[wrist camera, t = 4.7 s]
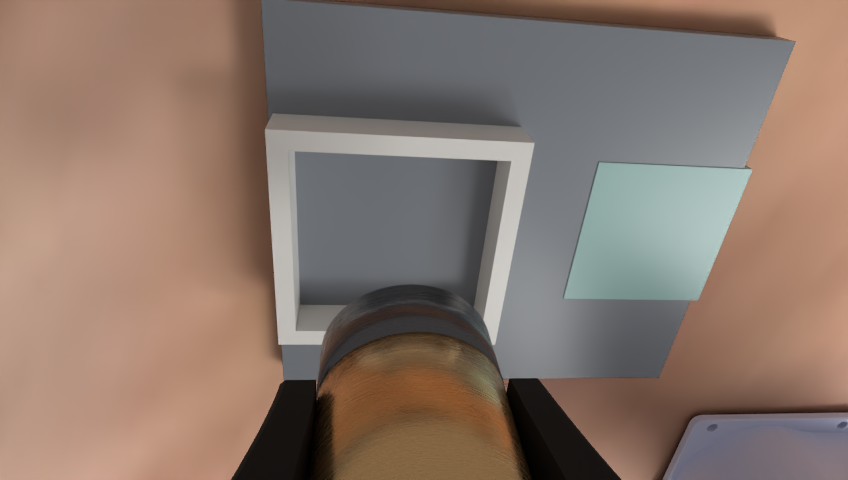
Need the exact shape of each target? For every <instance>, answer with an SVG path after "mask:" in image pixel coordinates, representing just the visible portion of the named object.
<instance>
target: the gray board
mask: <svg viewBox="0 0 848 480" xmlns="http://www.w3.org/2000/svg"><path fill="white" fill-rule="evenodd" d="M261 9H262V26H263V43H264V59H265V76H266V93H267V109H268V124H267V126H266V128H265V140H266V156H267V171H268V187H269V203H270V219H271V234H272V250H273V266H274V282H275V297H276V313H277V329H278V345H282V360H283V377H284V380H318V373H319V364H320V355H321V346H322V341H323V338H324V335H325V333H326V330H327V328H328V326H329V325H330V323H331V322H332V320H333V319H334V318H335V317H336V315H337V314H338V313H339V312H340V311H341V310H342V309H343V308H345V307H346V306H347V305H348V304H350V303H351V302H353V301H354V300H356V299H357V298H359V297H361V296H363V295H365V294H367V293H370V292H372V291H375V290H378V289H381V288H385V287H389V286H396V285H409V284H415V285H427V286H432V287H437V288H440V289H443V290H446V291H449V292H451V293H453V294H455V295H457V296H459V297H461V298H462V299H464V300H465V301H467V302H468V303H469V304H470V305H471V306H473V307H474V308H475V310H476V311H477V312H478V313H479V314H480V316H481V317H482V319H483V320H484V322H485V325H486V327H487V329H488V332H489V336H490V339H491V342H492V346H493V349H494V352H495V355H496V359H497V362H498V365H499V368H500V372H501V375H502V378H503V379H510V378H659V376H660V373H661V371H662V368H663V366H664V364H665V361H666V359H667V356H668V354H669V351H670V349H671V346H672V344H673V341H674V339H675V337H676V334H677V332H678V329H679V327H680V324H681V322H682V319H683V317H684V315H685V312H686V310H687V307H688V305H689V302H690V300H698V299H699V297H700V295H701V292H702V290H703V287H704V285H705V283H706V280H707V278H708V275H709V273H710V271H711V268H712V266H713V263H714V261H715V259H716V256H717V254H718V251H719V249H720V247H721V244H722V242H723V239H724V237H725V235H726V232H727V230H728V227H729V225H730V223H731V220H732V218H733V215H734V213H735V211H736V208H737V206H738V203H739V201H740V199H741V196H742V194H743V191H744V189H745V187H746V184H747V182H748V179H749V177H750V175H751V172H752V170H753V169H751V168H749V167H748V166H746V163H747V160H748V158H749V155H750V153H751V150H752V148H753V145H754V143H755V140H756V138H757V136H758V133H759V131H760V128H761V126H762V123H763V121H764V118H765V116H766V113H767V111H768V109H769V106H770V104H771V101H772V99H773V96H774V94H775V91H776V89H777V87H778V84H779V82H780V79H781V77H782V74H783V72H784V69H785V67H786V64H787V62H788V60H789V57H790V55H791V52H792V50H793V47H794V45H795V42H796V41H792V40H788V39H784V38H780V37H770V36H758V35H746V34H734V33H721V32H709V31H697V30H685V29H672V28H660V27H648V26H635V25H623V24H611V23H599V22H586V21H574V20H562V19H550V18H537V17H525V16H513V15H501V14H488V13H476V12H464V11H451V10H439V9H427V8H415V7H402V6H390V5H378V4H366V3H353V2H341V1H329V0H261Z"/></svg>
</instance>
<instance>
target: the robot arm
mask: <svg viewBox="0 0 848 480" xmlns="http://www.w3.org/2000/svg"><path fill="white" fill-rule="evenodd" d="M506 395H507V398H508V401H509V404H510V408H511V411H512V414H513V417H514V421H515V424H516V427H517V431H518V434H519V437H520V440H521V444H522V447H523V450H524V454H525V457H526V460H527V463H528V467H529V470H530V473H531V477H532V480H621V479H620V477H619V476H618V475H617V474H616V473H615V472H614V471H613V470H612V469H611V467H610V466H609V465H608V464H607V463H606V462H605V460H604V459H603V458H602V457H601V456H600V455H599V453H598V452H597V451H596V450H595V449H594V448H593V447H592V445H591V444H590V443H589V442H588V441H587V439H586V438H585V437H584V436H583V435H582V433H581V432H580V431H579V430H578V429H577V427H576V426H575V425H574V424H573V422H572V421H571V420H570V419H569V417H568V416H567V415H566V414H565V412H564V411H563V410H562V409H561V407H560V406H559V405H558V403H557V402H556V401H555V400H554V398H553V397H552V396H551V394H550V393H549V392H548V391H547V389H546V388H545V387H544V386H543V384H542V383H541V382H540V381H539V380H538V379H537V378H510V379H509V383H508V388H507V392H506ZM316 402H317V396H316V380H285V381H284V382H282V383H281V384H280V386H279V389H278V392H277V394H276V397H275V399H274V401H273V403H272V406H271V408H270V410H269V412H268V414H267V416H266V418H265V420H264V422H263V424H262V426H261V428H260V430H259V432H258V434H257V436H256V438H255V439H254V441H253V443H252V445H251V446H250V448H249V450H248V452H247V453H246V455H245V457H244V459H243V460H242V462H241V464H240V466H239V467H238V469H237V471H236V472H235V474H234V476H233V477H232V479H231V480H308V477H309V467H310V458H311V448H312V441H313V431H314V421H315V411H316ZM662 480H848V412H847V413H787V414H726V415H698V416H696V417H694V418H692V419H691V421H690V422H689V424H688V427H687V429H686V431H685V433H684V435H683V437H682V439H681V441H680V443H679V446H678V448H677V450H676V452H675V454H674V456H673V458H672V460H671V463H670V465H669V467H668V469H667V471H666V473H665V475H664V477H663V479H662Z"/></svg>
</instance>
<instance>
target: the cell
mask: <svg viewBox="0 0 848 480" xmlns="http://www.w3.org/2000/svg"><path fill="white" fill-rule="evenodd" d="M316 396H317V402H316V411H315V421H314V431H313V441H312V448H311V458H310V467H309V477H308V480H532V477H531V473H530V470H529V467H528V463H527V460H526V457H525V454H524V450H523V447H522V444H521V440H520V437H519V434H518V431H517V427H516V424H515V421H514V417H513V414H512V411H511V408H510V404H509V401H508V398H507V395H506V391H505V387H504V382H503V378H502V375H501V372H500V368H499V365H498V362H497V359H496V355H495V352H494V349H493V346H492V342H491V339H490V336H489V332H488V329H487V327H486V325H485V322H484V320H483V319H482V317H481V316H480V314H479V313H478V312H477V311H476V310H475V308H474V307H473V306H471V305H470V304H469V303H468V302H467V301H465V300H464V299H462V298H461V297H459V296H457V295H455V294H453V293H451V292H449V291H446V290H443V289H440V288H437V287H432V286H427V285H415V284H409V285H396V286H389V287H385V288H381V289H378V290H375V291H372V292H370V293H367V294H365V295H363V296H361V297H359V298H357V299H356V300H354V301H353V302H351V303H350V304H348V305H347V306H346V307H345V308H343V309H342V310H341V311H340V312H339V313H338V314H337V315H336V317H335V318H334V319H333V320H332V322H331V323H330V325H329V326H328V328H327V330H326V333H325V335H324V338H323V341H322V346H321V355H320V364H319V373H318V383H317V392H316Z"/></svg>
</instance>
